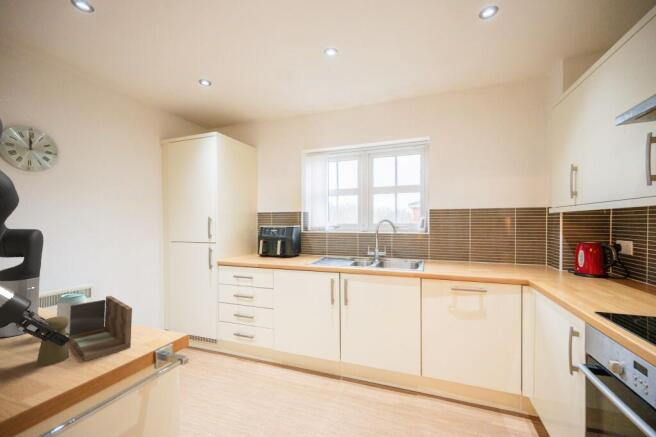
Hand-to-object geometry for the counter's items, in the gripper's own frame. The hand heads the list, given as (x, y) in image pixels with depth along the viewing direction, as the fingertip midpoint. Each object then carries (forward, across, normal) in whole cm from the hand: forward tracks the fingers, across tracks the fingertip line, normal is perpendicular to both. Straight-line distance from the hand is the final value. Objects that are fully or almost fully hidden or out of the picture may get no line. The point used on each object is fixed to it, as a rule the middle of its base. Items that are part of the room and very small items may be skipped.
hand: (63, 339), depth 72 cm
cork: (+2, 0, +5) cm, 5 cm away
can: (+7, +21, 0) cm, 22 cm away
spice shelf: (+9, +3, -2) cm, 10 cm away
